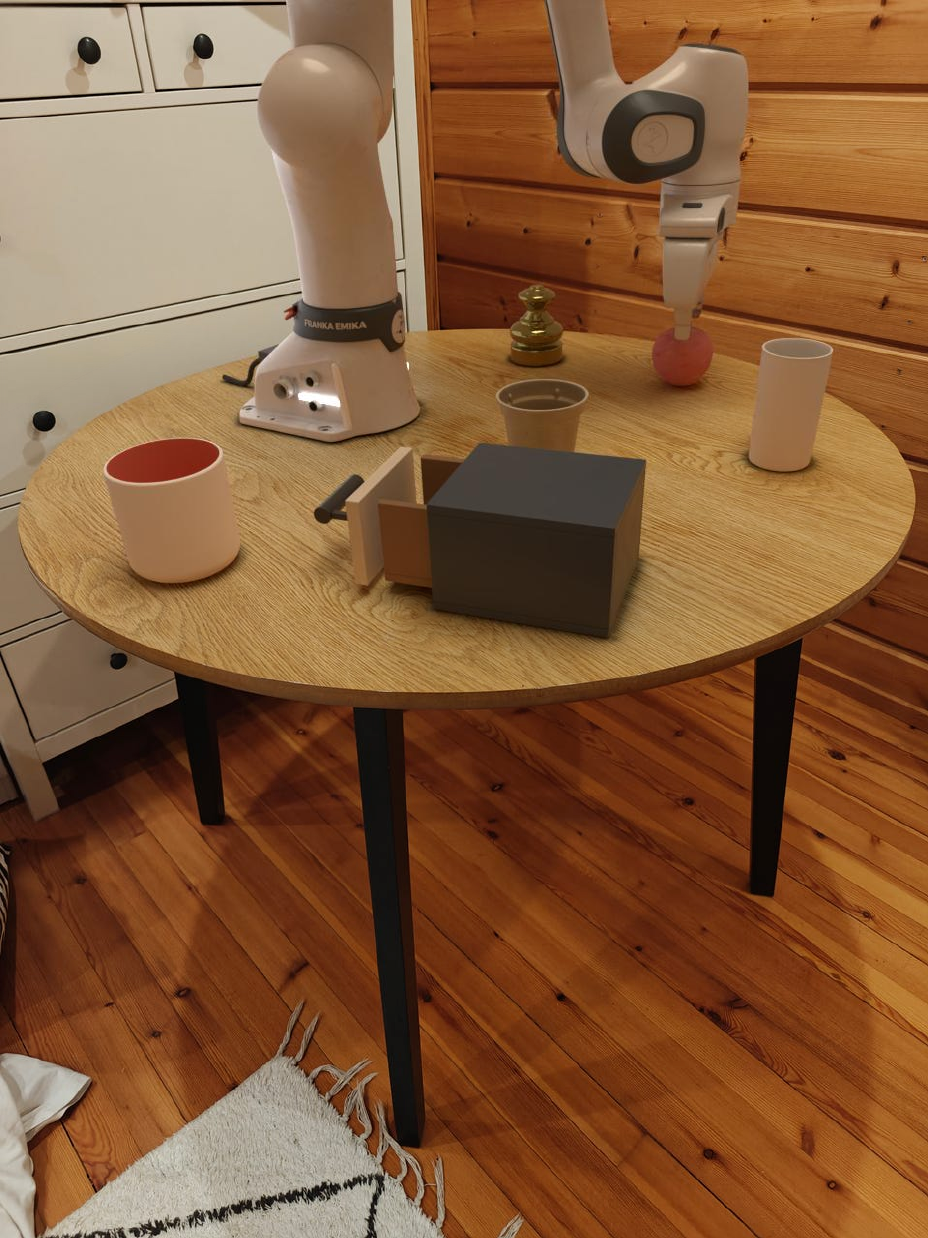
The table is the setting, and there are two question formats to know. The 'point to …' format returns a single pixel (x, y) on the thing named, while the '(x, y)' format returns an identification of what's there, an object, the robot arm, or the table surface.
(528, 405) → the flower pot
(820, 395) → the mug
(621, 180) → the robot arm
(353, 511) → the drawer
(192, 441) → the cup
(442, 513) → the cabinet
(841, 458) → the table surface
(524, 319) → the gold chess piece
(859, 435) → the table surface
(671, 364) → the apple
